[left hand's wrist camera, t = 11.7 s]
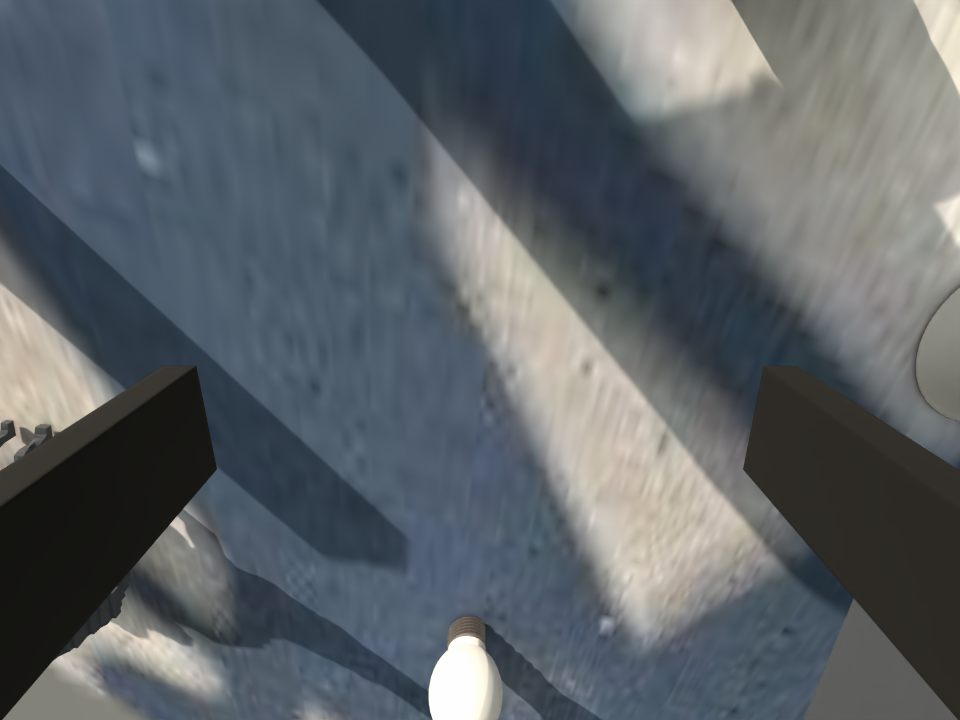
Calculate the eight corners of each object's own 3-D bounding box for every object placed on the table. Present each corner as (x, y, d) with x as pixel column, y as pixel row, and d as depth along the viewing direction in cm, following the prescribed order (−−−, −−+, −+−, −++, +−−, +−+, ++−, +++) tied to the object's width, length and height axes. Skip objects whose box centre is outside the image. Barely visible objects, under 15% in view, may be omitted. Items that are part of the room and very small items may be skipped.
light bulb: (460, 595, 53) (456, 700, 43) (513, 626, 55) (521, 735, 44) (421, 636, 55) (408, 745, 45) (473, 665, 56) (472, 777, 46)
